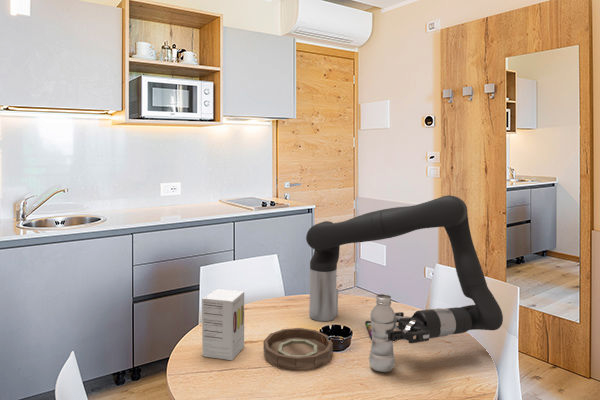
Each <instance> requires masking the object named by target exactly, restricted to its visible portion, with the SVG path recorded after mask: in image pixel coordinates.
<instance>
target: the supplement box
mask: <svg viewBox="0 0 600 400" xmlns="http://www.w3.org/2000/svg"><path fill="white" fill-rule="evenodd" d="M201 319H202V321H201V323H202V324H201V325H202V326H201V329H202V330H201V331H202V333H201V334H202V335H201V336H202V347H201V349H202V350H201V351H202V357H205V358H213V359H218V360H219V359H221V360H225V361H226V360H228V361H233V360H234V359H235V358H236V357H237V356H238V355H239V353H240V352H241V351H242V349H244V348H245V291H243V290H242V291H241V290H234V289H233V290H230V289H223V288H221V289H219V288H218V289H217V288H215V289H214V290H213V291H212V292H210V293H208V294H207V295H206V296H203V298H201Z"/></svg>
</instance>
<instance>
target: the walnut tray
mask: <svg viewBox="0 0 600 400" xmlns="http://www.w3.org/2000/svg"><path fill="white" fill-rule="evenodd" d="M321 336H324V337H325V338H326V337H329V335H327V334H326V333H323V332H321V331H318V330H316V329H310V328H304V327H303V328H302V327H295V328H292V327H291V328H283V329H280V330H276V331H274V332H271V333H269V334H268V335H267V337H266V338H265V339H264V340H263V352H264V354H263V355H264V358H265V360H266V362H267V363H268V364H270V365H272V366H274V367H275V368H279V369H281V370H287V371H293V372H295V371H296V372H300V371H311V370H315V369H319V368H321V367H323V366H325V365H327V364H328V363H329V362H330V360H331V359H332V353H333V352H334V351H333V350H334V348H333V347H334V346H333V345H334V343H333V341H332V339H330V340H328V339H327V338H326V345H324V344H323V343H322V339H321Z"/></svg>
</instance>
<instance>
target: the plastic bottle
mask: <svg viewBox="0 0 600 400" xmlns="http://www.w3.org/2000/svg"><path fill="white" fill-rule="evenodd" d="M375 303H376V305H375V306H374V307H373V308H372V310H371V311H370V314H369V315H370V316H369V317H370V321H371V327H372V341H371V346H370V352H369V357H368V360H369V365H370V367H371V369H372V370H374V371H376V372H380V373H388V372H392V370H393V369H394V367H395V364H396V361H395V360H396V359H395V353H394V342H393V341H390V340H388V333H389V332H390V331H395V329H394V326H395V320H396V316H395V313H396V312H395V311H394V308H393V307H392V306H391V305H392V296H391V295H390V294H387V293H386V294H385V293H379V294H377V295H376V300H375Z"/></svg>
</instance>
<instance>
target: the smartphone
mask: <svg viewBox="0 0 600 400" xmlns="http://www.w3.org/2000/svg"><path fill="white" fill-rule="evenodd" d="M365 326H366V331H367V332H368V335H369V338H370V340H372V327H371V320H365Z"/></svg>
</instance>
